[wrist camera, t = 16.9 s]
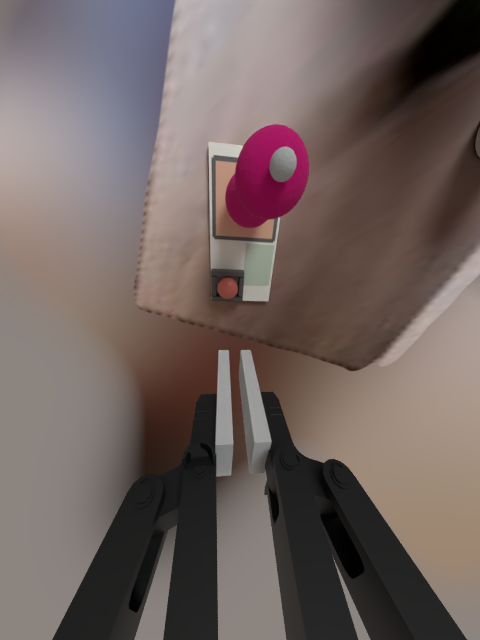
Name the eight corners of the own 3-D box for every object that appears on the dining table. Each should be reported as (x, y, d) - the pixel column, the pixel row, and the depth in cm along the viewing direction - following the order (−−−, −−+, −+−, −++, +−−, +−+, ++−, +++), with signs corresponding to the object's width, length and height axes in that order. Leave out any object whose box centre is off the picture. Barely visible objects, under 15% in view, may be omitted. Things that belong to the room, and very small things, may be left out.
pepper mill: (236, 236, 31) (256, 244, 13) (216, 189, 27) (206, 116, 10) (274, 216, 30) (351, 195, 12) (258, 166, 26) (332, 37, 9)
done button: (237, 276, 33) (238, 279, 30) (236, 294, 34) (237, 299, 32) (217, 275, 32) (217, 279, 30) (217, 294, 34) (217, 298, 32)
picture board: (287, 153, 27) (294, 144, 24) (267, 299, 38) (270, 305, 35) (209, 144, 26) (207, 134, 23) (211, 298, 37) (210, 303, 34)
